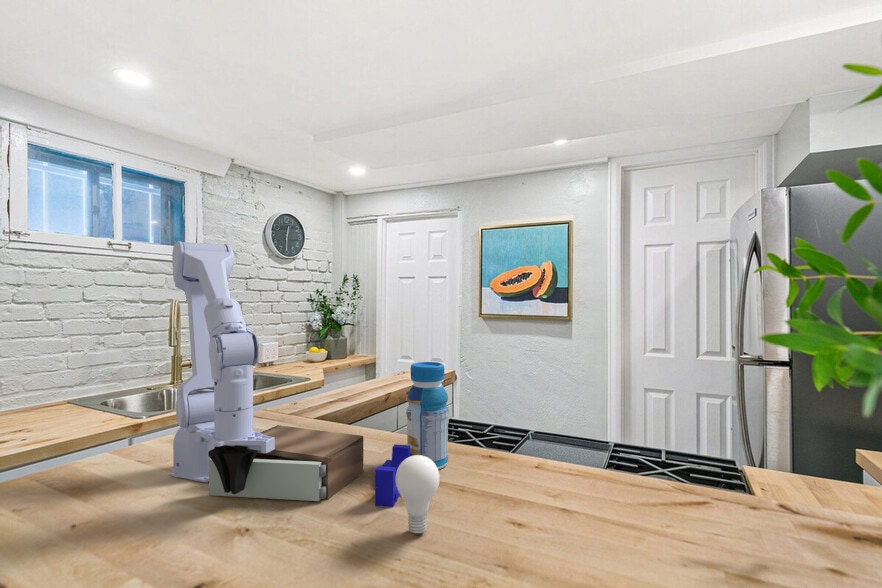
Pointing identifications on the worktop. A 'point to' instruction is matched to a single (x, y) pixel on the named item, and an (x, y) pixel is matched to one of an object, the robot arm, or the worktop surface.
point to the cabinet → (319, 453)
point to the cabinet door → (277, 480)
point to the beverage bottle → (428, 413)
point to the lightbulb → (417, 489)
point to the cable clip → (389, 477)
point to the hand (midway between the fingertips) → (234, 490)
